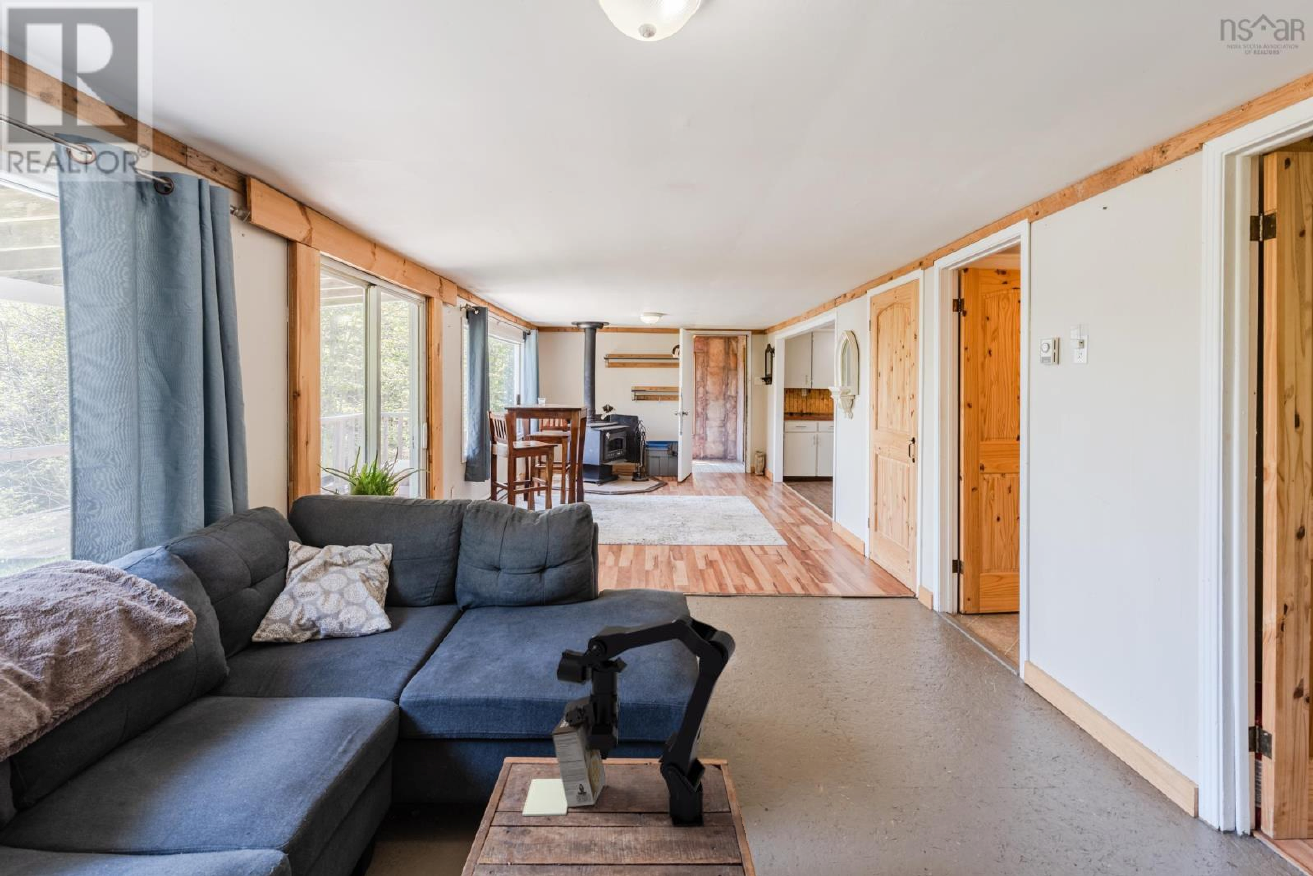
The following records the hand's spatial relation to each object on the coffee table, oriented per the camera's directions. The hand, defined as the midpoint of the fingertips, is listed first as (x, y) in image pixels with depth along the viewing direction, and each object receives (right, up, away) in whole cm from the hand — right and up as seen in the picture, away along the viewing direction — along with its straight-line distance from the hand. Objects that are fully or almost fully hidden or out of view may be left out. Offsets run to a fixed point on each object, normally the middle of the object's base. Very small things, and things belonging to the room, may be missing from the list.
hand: (603, 759), depth 127 cm
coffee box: (-3, -8, 0) cm, 8 cm away
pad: (-12, -8, 0) cm, 15 cm away
